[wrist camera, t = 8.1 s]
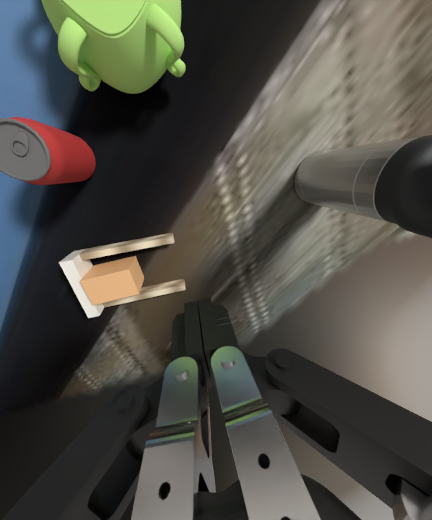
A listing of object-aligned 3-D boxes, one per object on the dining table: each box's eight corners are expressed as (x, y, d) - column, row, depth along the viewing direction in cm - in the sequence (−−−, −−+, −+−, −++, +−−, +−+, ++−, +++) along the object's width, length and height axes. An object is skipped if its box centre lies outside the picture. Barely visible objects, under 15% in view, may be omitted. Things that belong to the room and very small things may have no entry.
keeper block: (135, 255, 39) (128, 269, 33) (144, 277, 41) (139, 293, 35) (93, 265, 38) (79, 281, 33) (104, 287, 40) (93, 305, 35)
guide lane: (172, 232, 38) (172, 236, 36) (185, 283, 43) (185, 289, 40) (85, 249, 36) (79, 254, 34) (108, 300, 41) (104, 307, 39)
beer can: (103, 151, 31) (64, 141, 20) (88, 189, 33) (44, 198, 22) (56, 123, 29) (-16, 93, 18) (42, 165, 30) (-32, 161, 20)
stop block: (85, 249, 36) (72, 260, 32) (108, 300, 41) (99, 315, 37) (73, 251, 36) (58, 262, 32) (98, 302, 41) (88, 318, 36)
